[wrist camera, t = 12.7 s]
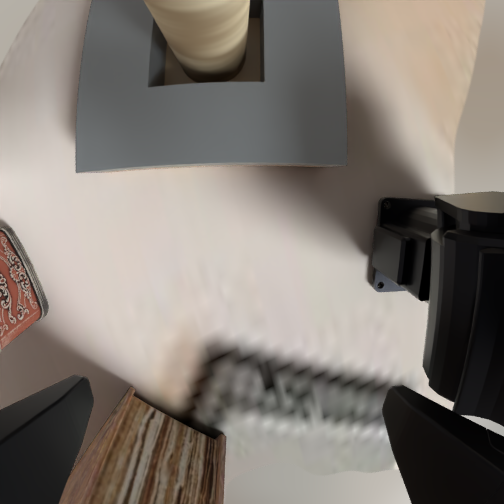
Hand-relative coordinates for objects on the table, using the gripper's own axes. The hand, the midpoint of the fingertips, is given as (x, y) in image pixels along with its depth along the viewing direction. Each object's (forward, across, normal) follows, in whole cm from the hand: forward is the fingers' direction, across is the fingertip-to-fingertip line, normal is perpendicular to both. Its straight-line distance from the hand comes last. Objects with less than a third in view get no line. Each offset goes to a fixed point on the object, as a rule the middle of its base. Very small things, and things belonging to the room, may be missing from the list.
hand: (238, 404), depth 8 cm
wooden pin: (+12, +2, -14) cm, 18 cm away
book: (+13, +12, +23) cm, 29 cm away
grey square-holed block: (+13, +2, -14) cm, 19 cm away
